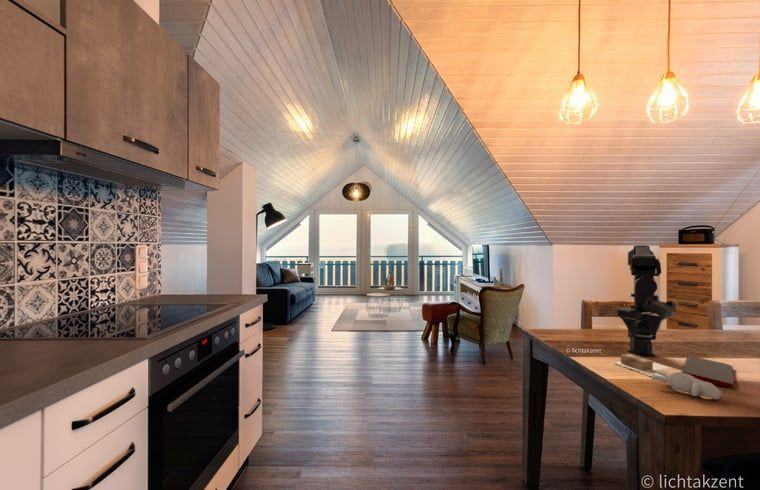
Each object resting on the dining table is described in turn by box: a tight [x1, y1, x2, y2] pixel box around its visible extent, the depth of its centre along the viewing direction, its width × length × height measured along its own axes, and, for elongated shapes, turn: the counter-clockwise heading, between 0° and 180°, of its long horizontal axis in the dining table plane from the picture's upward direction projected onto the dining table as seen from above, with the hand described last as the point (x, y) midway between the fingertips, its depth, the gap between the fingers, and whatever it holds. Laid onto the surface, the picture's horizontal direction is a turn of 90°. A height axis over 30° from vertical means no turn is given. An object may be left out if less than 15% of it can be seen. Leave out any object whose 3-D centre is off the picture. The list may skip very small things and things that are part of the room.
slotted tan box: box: [620, 353, 654, 371], centre depth 125 cm, size 8×4×3 cm, turn 16°
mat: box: [613, 361, 683, 377], centre depth 123 cm, size 17×14×1 cm
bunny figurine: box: [650, 370, 722, 401], centre depth 105 cm, size 10×5×15 cm
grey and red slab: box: [681, 355, 735, 388], centre depth 120 cm, size 12×2×25 cm
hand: (644, 336), depth 124 cm, fingers open, 9 cm apart
